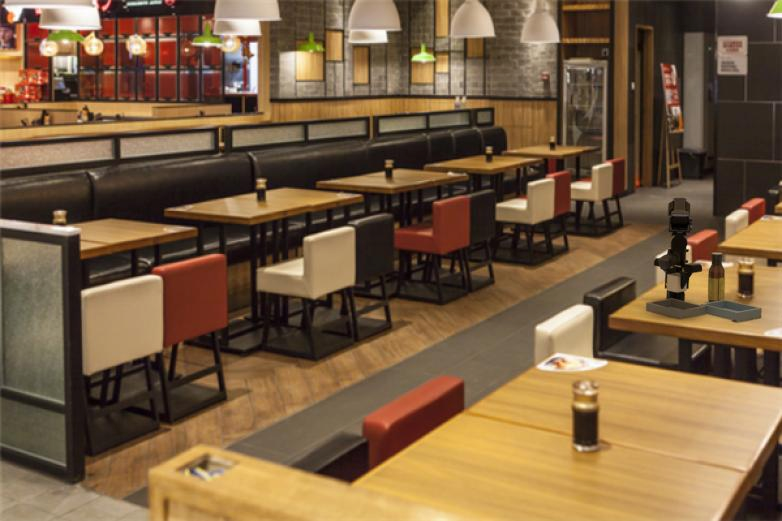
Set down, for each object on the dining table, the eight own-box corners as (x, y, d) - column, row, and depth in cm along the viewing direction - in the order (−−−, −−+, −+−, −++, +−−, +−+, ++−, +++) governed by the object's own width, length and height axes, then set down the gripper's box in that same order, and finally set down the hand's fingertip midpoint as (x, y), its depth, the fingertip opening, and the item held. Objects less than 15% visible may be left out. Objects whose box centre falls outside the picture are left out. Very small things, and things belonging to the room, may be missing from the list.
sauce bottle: (722, 301, 398) (725, 251, 394) (725, 305, 392) (728, 254, 388) (705, 301, 399) (707, 251, 395) (708, 304, 392) (711, 254, 389)
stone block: (666, 290, 377) (667, 274, 376) (675, 288, 379) (676, 272, 378) (676, 292, 373) (677, 276, 372) (686, 290, 375) (687, 275, 374)
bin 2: (700, 313, 378) (700, 304, 377) (724, 308, 385) (725, 299, 385) (736, 322, 364) (737, 312, 364) (761, 317, 371) (761, 308, 371)
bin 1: (645, 311, 381) (646, 302, 380) (671, 307, 388) (671, 298, 388) (679, 320, 367) (680, 311, 367) (705, 315, 374) (705, 306, 374)
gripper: (644, 245, 377) (642, 285, 379) (682, 252, 361) (680, 294, 364) (665, 242, 382) (663, 282, 385) (704, 249, 367) (702, 291, 370)
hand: (676, 287), depth 376 cm, fingers closed on stone block, 5 cm apart
